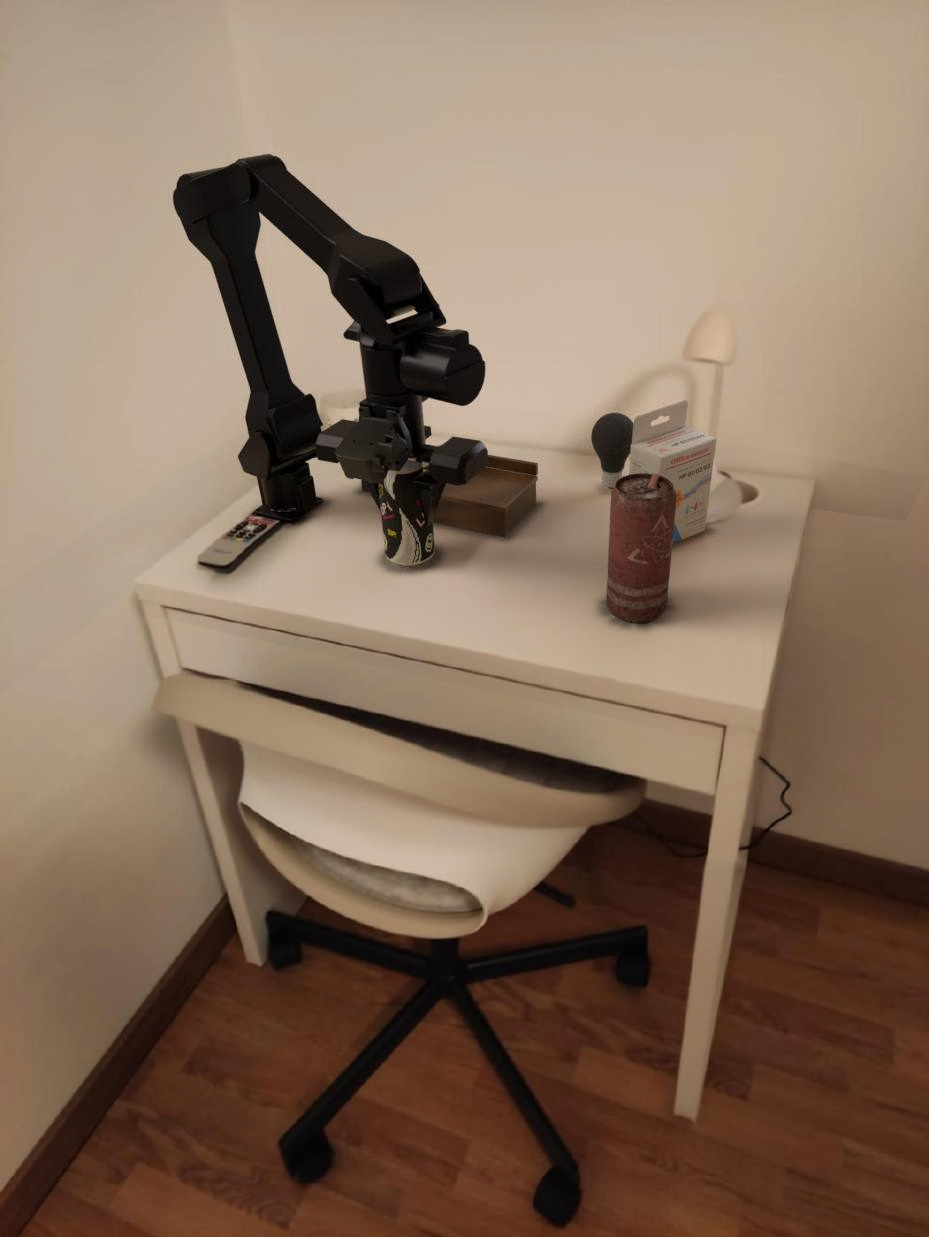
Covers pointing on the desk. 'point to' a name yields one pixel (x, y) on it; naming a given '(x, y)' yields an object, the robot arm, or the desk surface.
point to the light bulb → (612, 445)
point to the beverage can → (404, 517)
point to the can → (640, 546)
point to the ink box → (676, 463)
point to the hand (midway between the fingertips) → (407, 521)
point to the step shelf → (491, 497)
